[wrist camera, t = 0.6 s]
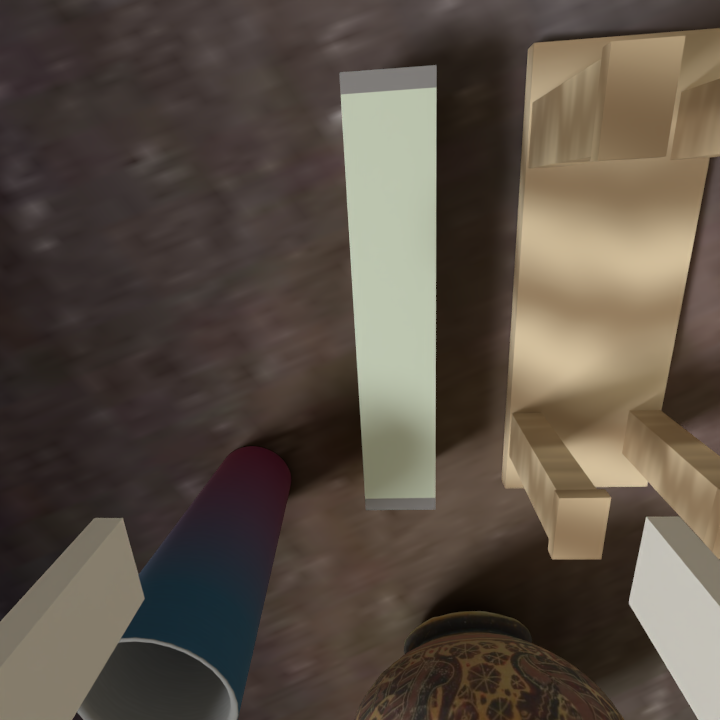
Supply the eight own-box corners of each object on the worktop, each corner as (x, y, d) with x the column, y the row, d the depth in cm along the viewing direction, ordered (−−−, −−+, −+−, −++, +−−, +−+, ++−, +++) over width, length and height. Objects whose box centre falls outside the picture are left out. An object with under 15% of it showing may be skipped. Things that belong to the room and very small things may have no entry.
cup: (275, 420, 30) (177, 617, 16) (320, 498, 32) (269, 735, 18) (190, 454, 31) (30, 666, 17) (239, 528, 33) (131, 771, 19)
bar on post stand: (525, 49, 22) (622, -51, 13) (721, 34, 22) (963, -83, 13) (500, 479, 31) (548, 597, 22) (640, 477, 30) (749, 597, 21)
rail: (348, 97, 23) (339, 72, 19) (425, 91, 23) (436, 65, 18) (368, 462, 31) (366, 510, 26) (427, 461, 31) (435, 509, 26)
